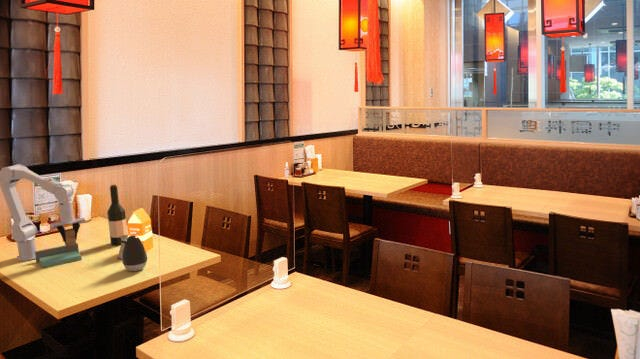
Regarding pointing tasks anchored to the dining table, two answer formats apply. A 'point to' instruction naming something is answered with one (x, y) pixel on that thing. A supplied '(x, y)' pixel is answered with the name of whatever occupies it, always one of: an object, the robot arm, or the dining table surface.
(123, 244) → the flask
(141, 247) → the black egg shape
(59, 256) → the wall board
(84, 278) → the dining table surface
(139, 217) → the orange juice
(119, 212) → the wine bottle
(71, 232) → the walnut block
